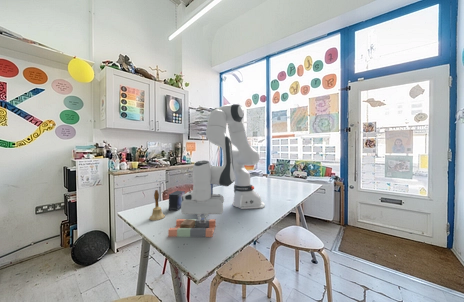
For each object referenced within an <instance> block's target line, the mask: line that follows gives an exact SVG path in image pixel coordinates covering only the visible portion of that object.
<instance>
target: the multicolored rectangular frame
mask: <svg viewBox="0 0 464 302" xmlns="http://www.w3.org/2000/svg"><path fill="white" fill-rule="evenodd" d="M185 219H186V218H177V219H176V221H175V226H174V227H170V228H168V231H167V232H168V233H167V234H168V237H176V238H177V237H182V238H184V237H187V238H188V237H191V238H193V237H194V238H213V235H214V232H215V228H216V224H217V223H216V219H214V218H213V219H208V218H206V223H199V219H198V218H196V219H195V218H192V219H191V218H188V219H189V220H195V228H180V224H181V223H182V222H183V221H184V220H185ZM205 227H206V228H205Z"/></svg>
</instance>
